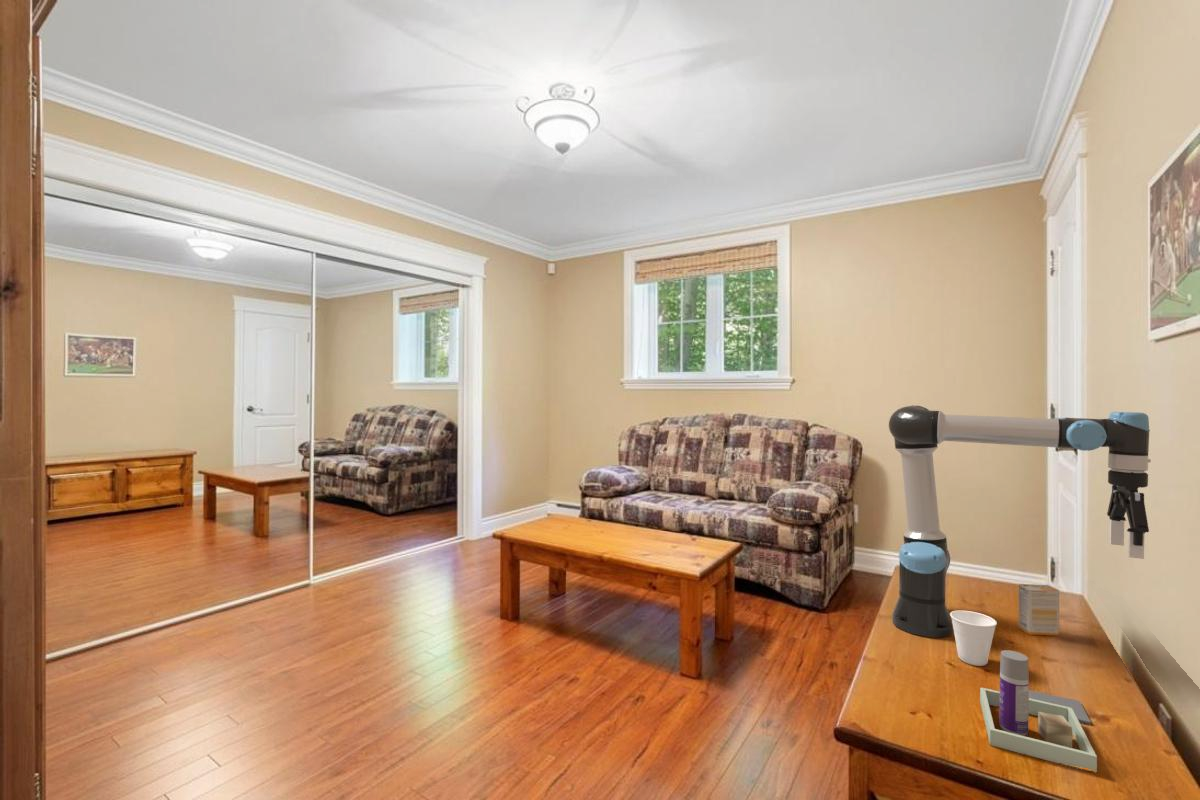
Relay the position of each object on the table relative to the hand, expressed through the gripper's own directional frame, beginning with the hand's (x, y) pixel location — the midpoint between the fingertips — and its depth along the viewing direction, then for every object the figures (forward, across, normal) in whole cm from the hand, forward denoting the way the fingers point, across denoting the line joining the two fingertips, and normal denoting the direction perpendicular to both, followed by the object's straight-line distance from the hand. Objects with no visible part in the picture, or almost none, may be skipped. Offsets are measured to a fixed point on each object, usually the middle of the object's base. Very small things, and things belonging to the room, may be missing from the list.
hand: (1125, 551), depth 142 cm
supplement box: (+27, +5, +17) cm, 32 cm away
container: (+27, -55, +32) cm, 69 cm away
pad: (+27, -41, +22) cm, 54 cm away
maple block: (+27, -55, +25) cm, 66 cm away
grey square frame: (+27, -55, +29) cm, 68 cm away
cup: (+27, -25, +36) cm, 51 cm away
